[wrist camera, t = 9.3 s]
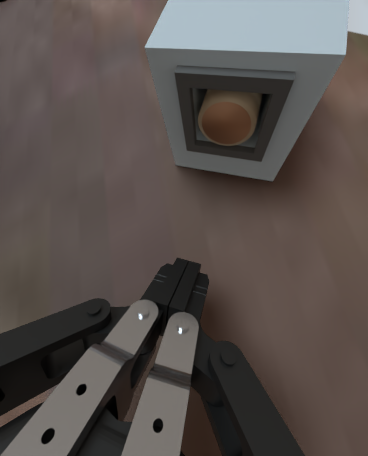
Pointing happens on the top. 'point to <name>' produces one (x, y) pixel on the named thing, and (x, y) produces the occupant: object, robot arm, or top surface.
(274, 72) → the block
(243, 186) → the top surface
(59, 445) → the robot arm
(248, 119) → the peg
